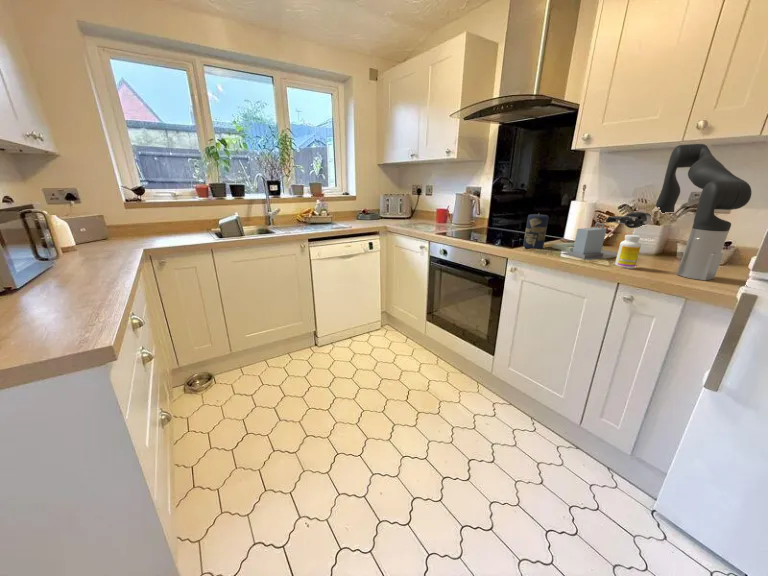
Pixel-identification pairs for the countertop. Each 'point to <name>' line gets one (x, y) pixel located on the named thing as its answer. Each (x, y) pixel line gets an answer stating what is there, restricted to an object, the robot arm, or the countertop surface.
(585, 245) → the grey block
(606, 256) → the printer bay
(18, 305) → the countertop surface
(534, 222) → the canister
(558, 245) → the tray
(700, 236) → the robot arm
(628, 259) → the supplement bottle
